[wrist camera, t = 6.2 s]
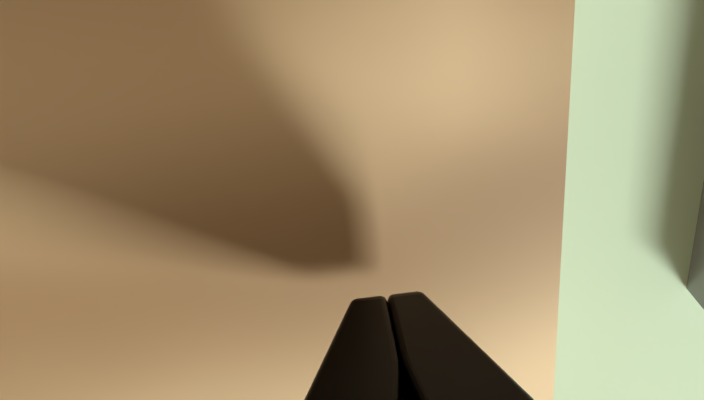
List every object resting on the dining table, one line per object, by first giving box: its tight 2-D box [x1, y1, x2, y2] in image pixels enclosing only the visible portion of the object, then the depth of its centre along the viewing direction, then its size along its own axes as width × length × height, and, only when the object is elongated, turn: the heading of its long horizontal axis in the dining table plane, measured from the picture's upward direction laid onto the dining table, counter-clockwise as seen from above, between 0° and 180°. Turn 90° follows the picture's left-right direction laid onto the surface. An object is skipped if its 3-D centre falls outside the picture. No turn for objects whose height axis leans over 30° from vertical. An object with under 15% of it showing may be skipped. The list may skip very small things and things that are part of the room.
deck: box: [0, 0, 575, 400], centre depth 10 cm, size 20×8×4 cm, turn 6°
